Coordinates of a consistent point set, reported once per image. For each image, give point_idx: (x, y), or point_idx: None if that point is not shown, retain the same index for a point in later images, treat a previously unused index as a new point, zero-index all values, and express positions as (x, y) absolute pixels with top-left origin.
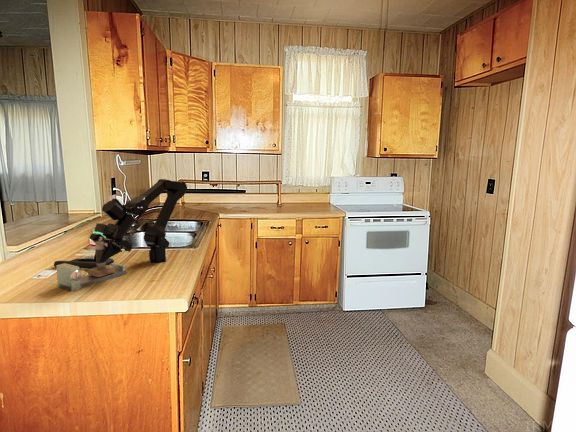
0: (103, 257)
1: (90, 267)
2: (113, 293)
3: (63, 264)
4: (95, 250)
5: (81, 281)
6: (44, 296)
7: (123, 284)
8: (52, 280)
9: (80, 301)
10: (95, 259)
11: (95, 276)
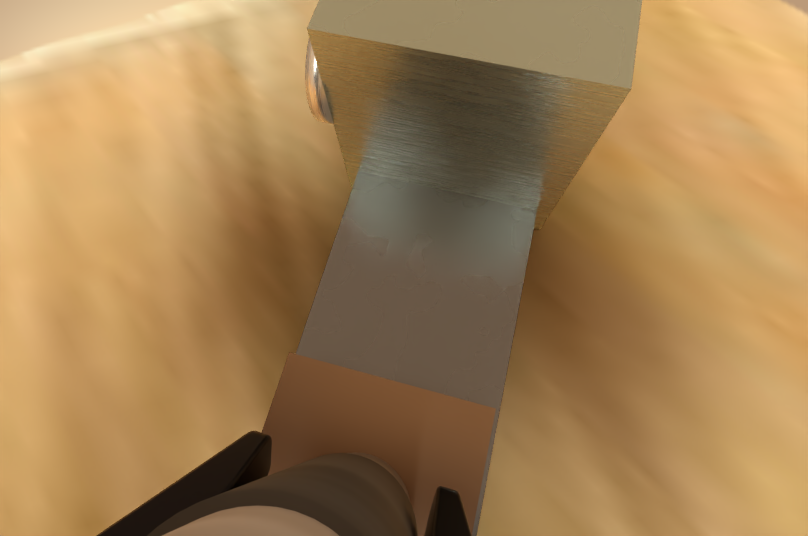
0: (182, 490)
1: None
2: (40, 176)
3: (592, 43)
4: (359, 518)
5: (398, 232)
6: None
7: (45, 372)
8: (774, 286)
9: (191, 26)
10: (429, 515)
11: None
